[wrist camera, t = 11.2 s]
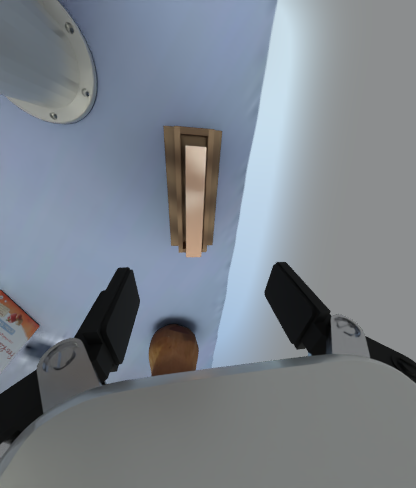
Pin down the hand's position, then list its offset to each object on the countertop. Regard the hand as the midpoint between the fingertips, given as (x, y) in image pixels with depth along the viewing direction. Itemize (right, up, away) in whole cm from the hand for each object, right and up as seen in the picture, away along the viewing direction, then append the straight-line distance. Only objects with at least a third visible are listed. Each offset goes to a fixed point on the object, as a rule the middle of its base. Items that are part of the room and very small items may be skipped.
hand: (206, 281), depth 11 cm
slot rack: (-3, +12, +20) cm, 23 cm away
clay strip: (-3, +11, +19) cm, 22 cm away
